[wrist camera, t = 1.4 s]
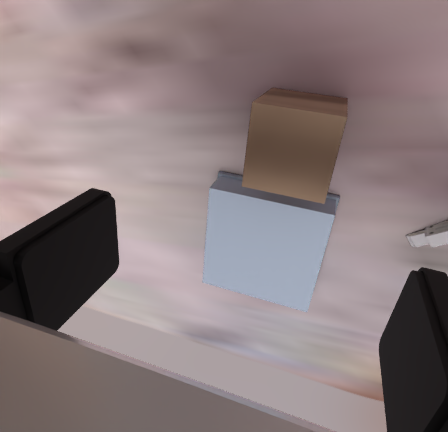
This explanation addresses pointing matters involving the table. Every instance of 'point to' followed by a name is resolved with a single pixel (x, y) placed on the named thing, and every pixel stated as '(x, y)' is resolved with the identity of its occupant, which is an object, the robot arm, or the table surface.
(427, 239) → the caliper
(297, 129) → the walnut block
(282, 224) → the base block
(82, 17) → the table surface
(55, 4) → the table surface
